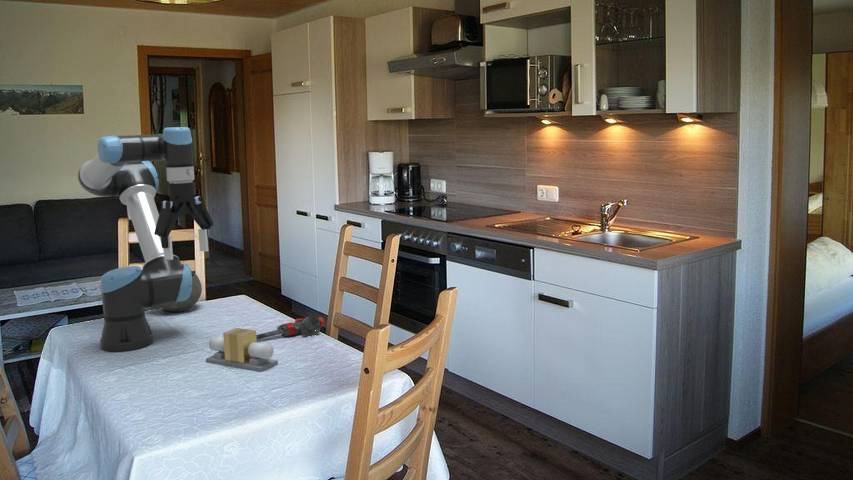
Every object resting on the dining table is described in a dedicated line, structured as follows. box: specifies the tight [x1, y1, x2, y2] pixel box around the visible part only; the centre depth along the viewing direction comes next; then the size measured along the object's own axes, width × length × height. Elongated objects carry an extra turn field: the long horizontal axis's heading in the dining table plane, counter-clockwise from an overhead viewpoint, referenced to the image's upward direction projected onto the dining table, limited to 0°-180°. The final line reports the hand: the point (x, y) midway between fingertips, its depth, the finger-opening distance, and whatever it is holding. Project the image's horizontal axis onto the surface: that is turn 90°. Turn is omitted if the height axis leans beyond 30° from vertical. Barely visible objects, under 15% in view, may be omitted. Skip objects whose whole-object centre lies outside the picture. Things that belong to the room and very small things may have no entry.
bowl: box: [157, 271, 203, 313], centre depth 266 cm, size 18×18×13 cm
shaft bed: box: [205, 335, 279, 373], centre depth 206 cm, size 20×7×6 cm, turn 62°
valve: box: [256, 316, 326, 341], centre depth 233 cm, size 6×26×15 cm
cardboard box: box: [222, 327, 258, 364], centre depth 205 cm, size 7×6×8 cm
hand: (186, 255), depth 214 cm, fingers open, 13 cm apart
